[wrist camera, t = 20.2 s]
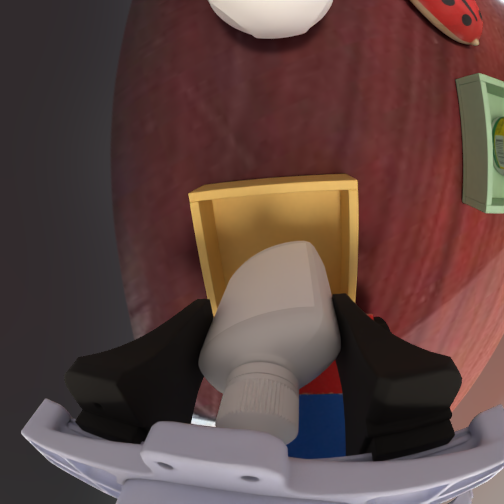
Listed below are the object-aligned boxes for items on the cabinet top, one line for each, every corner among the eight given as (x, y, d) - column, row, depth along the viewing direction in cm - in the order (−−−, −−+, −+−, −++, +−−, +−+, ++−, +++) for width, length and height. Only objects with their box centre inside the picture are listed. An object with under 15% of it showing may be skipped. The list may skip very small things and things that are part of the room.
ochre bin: (345, 300, 22) (353, 325, 19) (224, 306, 23) (214, 330, 20) (346, 173, 18) (357, 179, 15) (204, 184, 20) (187, 193, 17)
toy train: (402, 277, 16) (462, 521, 4) (341, 407, 27) (343, 526, 15) (260, 276, 17) (222, 557, 4) (263, 408, 28) (250, 528, 16)
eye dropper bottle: (226, 238, 16) (124, 412, 5) (325, 238, 15) (380, 432, 4) (232, 303, 18) (170, 479, 7) (320, 304, 17) (339, 493, 6)
